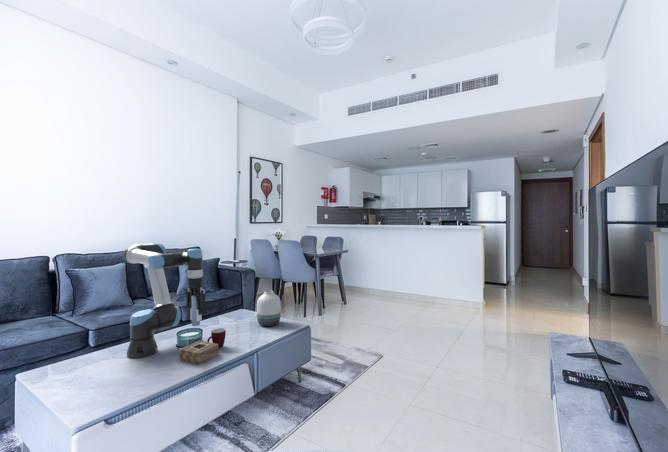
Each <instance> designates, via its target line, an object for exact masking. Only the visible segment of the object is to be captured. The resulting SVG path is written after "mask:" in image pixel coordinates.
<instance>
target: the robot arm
mask: <svg viewBox="0 0 668 452" xmlns="http://www.w3.org/2000/svg"><path fill="white" fill-rule="evenodd" d="M122 255H123V257H122V258H123V259H124V261H125V262H127V263H129V264H142V265H143V267H144V268H146V269H147V275H148V278H149V283H150V288H151V292H152V296H153V301H154V307H152V308H151V309H149V308H148V309H142V310H138V311H136V312H134V313H133V314H132V315H131V316H130V319H129V338H130V339H129V345H128V347H127V350H126V356H127V357H128V359H129V358H131V359H139V358H146V357H149V356H151V355H154V354H156V353H157V352H158V344H157V341H156V339H155V332H157V331H162V330H166V329H169V328H172V327H175V326H177V325H178V324H179V323H180V320H181V318H182V316H181V315H182V313H181V308H180V307H179V306H178V305H175V303H174V302H173V301H172V300H171V295H170V291H169V287H168V283H167V279H166V275H165V270H164V269H165V268H173V267H181V266H184V267H185V266H186V267H187V285H188V288H184V290H185V297H186V298H185V299H186V301H185V302H186V307H188V308H189V314H190V321H192V299H191V296H193V295H195V297H196V301H197V309H196V313H197V321H200V322H201V321H203V320H202V319H203V318H202V315H203V308H206V293H207V289H203V283H204V278H203V276H204V272H203V250H202V249H201V248H189V249H188V250H187V251H179V252H170V253H167V249H166V247H165V245H163V244H162V243H159V242H158V243H157V242H152V243H140V244H139V243H135V244H131V245H129V246H128V247H126V248H125V249H124V251H123V254H122ZM127 357H126V358H127Z"/></svg>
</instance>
